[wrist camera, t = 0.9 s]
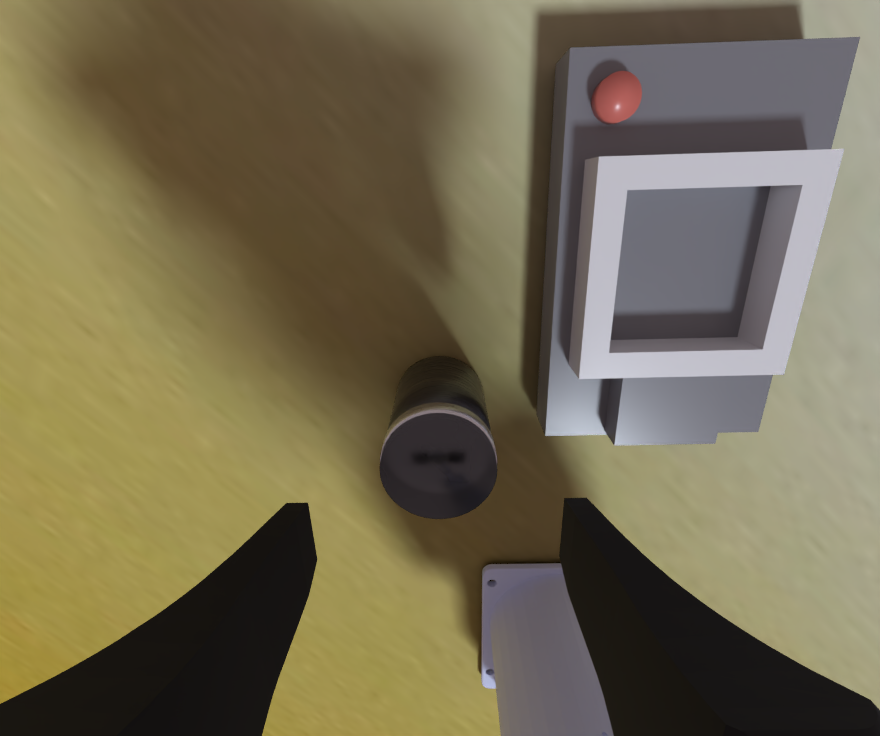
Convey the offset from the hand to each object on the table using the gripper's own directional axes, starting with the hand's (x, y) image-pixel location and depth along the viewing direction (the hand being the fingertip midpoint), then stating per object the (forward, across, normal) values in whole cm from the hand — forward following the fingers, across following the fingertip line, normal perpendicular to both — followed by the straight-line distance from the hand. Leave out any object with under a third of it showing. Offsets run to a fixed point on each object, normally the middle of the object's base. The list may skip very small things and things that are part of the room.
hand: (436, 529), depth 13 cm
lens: (+9, 0, 0) cm, 9 cm away
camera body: (+9, -9, -6) cm, 14 cm away
